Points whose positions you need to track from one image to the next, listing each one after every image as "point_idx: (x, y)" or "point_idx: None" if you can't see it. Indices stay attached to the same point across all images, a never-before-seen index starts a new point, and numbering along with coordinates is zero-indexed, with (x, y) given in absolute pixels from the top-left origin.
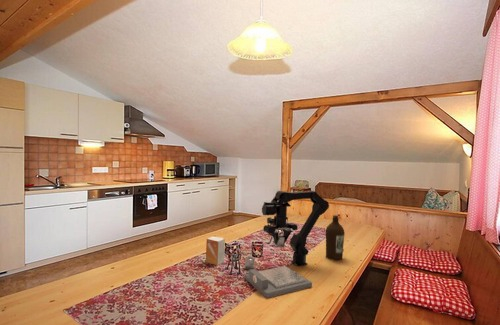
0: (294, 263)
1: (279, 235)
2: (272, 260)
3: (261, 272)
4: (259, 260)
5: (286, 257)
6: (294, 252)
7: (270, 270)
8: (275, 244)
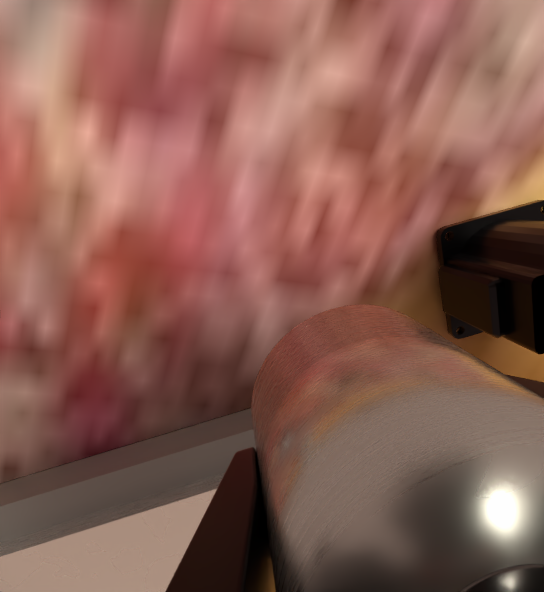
0: (442, 290)
1: (531, 520)
2: (256, 139)
3: (12, 582)
4: (92, 108)
5: (452, 73)
6: (535, 294)
7: (114, 544)
8: (254, 404)
